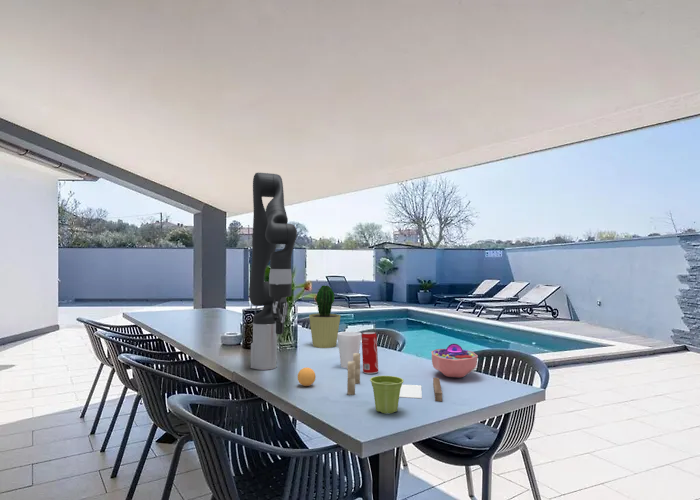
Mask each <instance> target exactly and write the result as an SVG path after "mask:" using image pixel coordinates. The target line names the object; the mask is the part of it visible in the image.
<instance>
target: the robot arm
mask: <svg viewBox="0 0 700 500" xmlns="http://www.w3.org/2000/svg"><path fill="white" fill-rule="evenodd" d="M283 184H284V183H283V179H282V176H281V175H280V174H277V173H270V172H269V173H268V172H255V174H253V180H252V201H253V202H252V203H253V206H252V207H253V220H252V236H251V237H252V242H251V243H252V247H251V249H252V251H251V252H252V254H251V257H252V258H251V270H250V279H249V288H248V298H249V300H250V303H251V305H253V306H254V307H259V306H260V307H261V306H263V307H262V309H261V311H259V312H257V313H255V314H254V315H253V317H252V320H253V321H252V342H251V343H250V369H253V370H266V371H267V370H274V369H276V368H277V363H278V360H277V356H278V353H277V352H278V349H277V348H278V335H282V334H284V329H285V328H284V327H285V326H284V325H285V321H286V320H287V315H288V311H289V307H290V306H289V304H288V302H287V298H288V297H292V288H293V286H292V285H293V284H292V280H293V277H292V276H293V275H292V256H293V255H292V254H293V250H294V246H295V243H296V240H297V238H298V237H297V236H298V230H297V228H296V226H295V225H294V224H291V223H288V219H289V218H288V215H287V211H286V208H285V195H284V192H285V191H284V185H283ZM263 198H272V199H271V200H270V201H269V202H268V203H267V205H266V206H264V203H263ZM265 207H266V208H265ZM277 245H284V247H283V249H281V250H276V249H277ZM269 262H270V263H269ZM268 265H269V266H270V267H269V269H270V270H269V276H268V278H269V279H268V281H265V274H266V271H267V270H266V269H267V267H268Z"/></svg>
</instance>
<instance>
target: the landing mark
mask: <svg viewBox="0 0 700 500" xmlns="http://www.w3.org/2000/svg"><path fill="white" fill-rule="evenodd" d="M422 390H423V389H422V385H420V384H419V385H417V384H403V383H402V386H401V389H400V395H399V398H408V399H422V398H423V396H422V395H423V393H422Z"/></svg>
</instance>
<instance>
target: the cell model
mask: <svg viewBox="0 0 700 500" xmlns="http://www.w3.org/2000/svg"><path fill="white" fill-rule="evenodd" d="M430 353H431V362H432V363H431V365H432V367H433V368H434V369H435V370H437V371H438V372H440V373H441V374H443V375H444V376H446V377H447V378H459V379H460V378H465V376H467V375H469V374H470V373H472V372H473V371H474V370H475V369H476V368H477V365H478V359H479V358H478V357H479V356H478V354H476V353H475V352H474V351H472V350H466V349H464V348H462V346H460V344H457V343H450V344H449V345H448V346H447V347H446V348H438V349H434V350H431V352H430Z"/></svg>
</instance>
